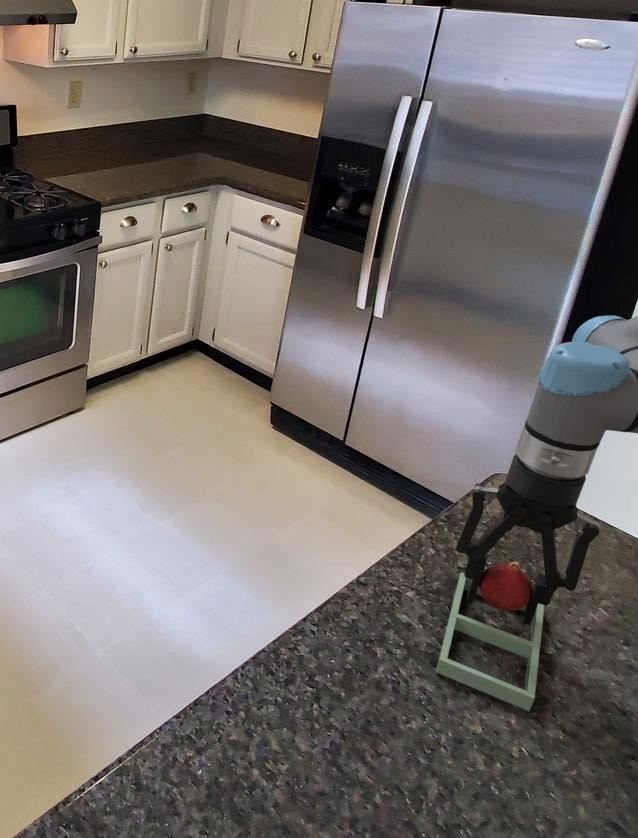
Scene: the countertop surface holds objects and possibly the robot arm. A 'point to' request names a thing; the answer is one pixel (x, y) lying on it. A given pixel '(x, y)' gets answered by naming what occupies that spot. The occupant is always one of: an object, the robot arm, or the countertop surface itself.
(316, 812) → the countertop surface
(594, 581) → the countertop surface
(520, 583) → the onion
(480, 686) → the holder
